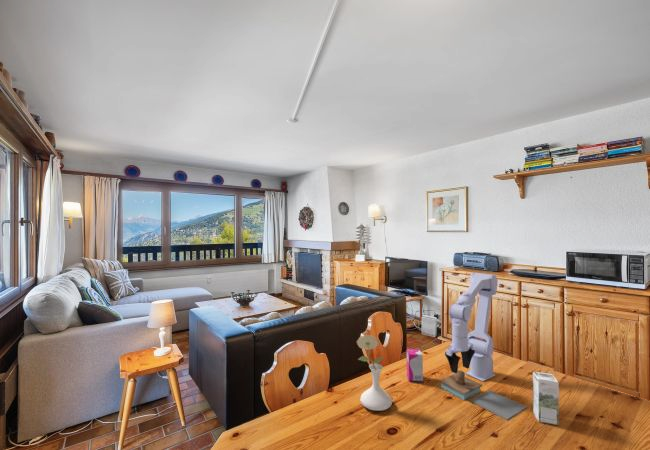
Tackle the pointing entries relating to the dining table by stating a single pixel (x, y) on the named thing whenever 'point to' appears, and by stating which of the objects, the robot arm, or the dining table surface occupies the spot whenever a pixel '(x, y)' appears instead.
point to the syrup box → (546, 398)
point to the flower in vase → (374, 395)
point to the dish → (459, 392)
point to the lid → (460, 383)
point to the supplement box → (414, 365)
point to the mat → (498, 404)
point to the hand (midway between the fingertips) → (460, 369)
